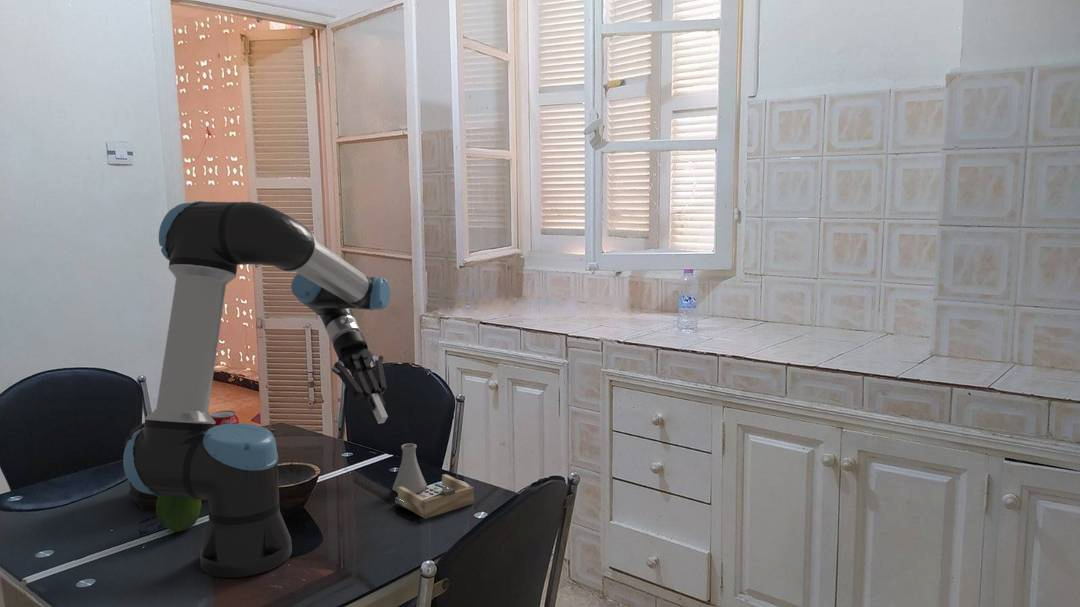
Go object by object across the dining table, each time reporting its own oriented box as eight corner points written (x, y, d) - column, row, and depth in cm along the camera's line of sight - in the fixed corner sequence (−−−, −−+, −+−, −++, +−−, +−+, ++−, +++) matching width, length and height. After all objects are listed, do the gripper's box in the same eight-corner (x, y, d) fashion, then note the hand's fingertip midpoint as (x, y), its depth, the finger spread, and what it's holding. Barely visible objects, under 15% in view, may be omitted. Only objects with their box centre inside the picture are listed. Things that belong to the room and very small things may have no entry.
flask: (409, 481, 171) (408, 438, 170) (433, 488, 167) (432, 444, 166) (386, 490, 166) (384, 446, 164) (409, 498, 161) (408, 453, 160)
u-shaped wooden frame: (474, 503, 158) (474, 483, 158) (425, 519, 151) (424, 498, 150) (446, 489, 166) (445, 470, 166) (398, 503, 159) (397, 483, 158)
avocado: (208, 520, 150) (204, 462, 149) (195, 537, 143) (191, 476, 141) (166, 522, 149) (162, 463, 148) (150, 539, 142) (146, 478, 140)
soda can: (215, 457, 188) (212, 410, 186) (244, 455, 189) (242, 409, 187) (205, 466, 181) (202, 418, 180) (236, 465, 182) (233, 417, 180)
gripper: (326, 332, 177) (362, 416, 167) (376, 326, 186) (413, 406, 175) (317, 351, 182) (352, 434, 172) (366, 344, 190) (402, 423, 180)
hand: (383, 420), depth 173 cm, fingers closed
